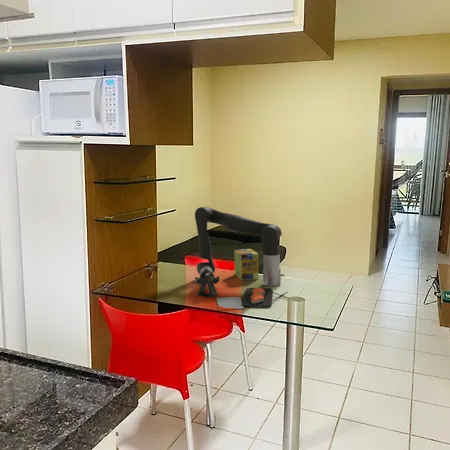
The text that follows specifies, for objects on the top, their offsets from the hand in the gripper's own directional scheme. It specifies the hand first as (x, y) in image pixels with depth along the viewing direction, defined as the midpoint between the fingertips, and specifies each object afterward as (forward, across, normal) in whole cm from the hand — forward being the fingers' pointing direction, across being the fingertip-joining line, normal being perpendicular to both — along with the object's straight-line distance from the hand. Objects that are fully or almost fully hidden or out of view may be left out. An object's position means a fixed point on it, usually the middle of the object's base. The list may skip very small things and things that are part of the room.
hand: (207, 284), depth 236 cm
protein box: (-35, +24, +7) cm, 43 cm away
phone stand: (-1, 0, +7) cm, 7 cm away
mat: (+14, +10, +6) cm, 18 cm away
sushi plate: (+9, +33, +7) cm, 35 cm away
